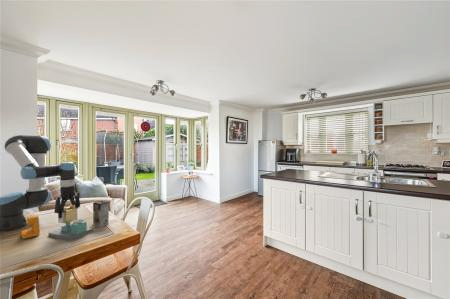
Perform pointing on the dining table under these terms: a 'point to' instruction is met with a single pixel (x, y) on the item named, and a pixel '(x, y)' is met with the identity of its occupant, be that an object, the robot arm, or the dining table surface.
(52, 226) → the dining table surface
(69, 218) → the sleeve
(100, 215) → the coffee box
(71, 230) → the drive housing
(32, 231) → the bracket
